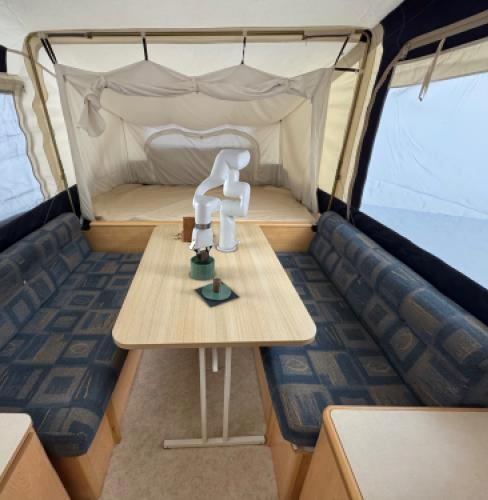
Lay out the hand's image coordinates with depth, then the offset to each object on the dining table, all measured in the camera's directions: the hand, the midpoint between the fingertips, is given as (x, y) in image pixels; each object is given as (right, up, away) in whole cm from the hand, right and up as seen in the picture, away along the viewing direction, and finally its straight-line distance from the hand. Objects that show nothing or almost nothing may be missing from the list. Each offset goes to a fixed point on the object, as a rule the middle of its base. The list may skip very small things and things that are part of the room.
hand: (202, 258), depth 137 cm
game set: (-6, +13, +50) cm, 52 cm away
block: (0, 0, 0) cm, 0 cm away
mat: (+7, -16, -12) cm, 21 cm away
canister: (0, -8, +4) cm, 9 cm away
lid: (+7, -15, -13) cm, 21 cm away
